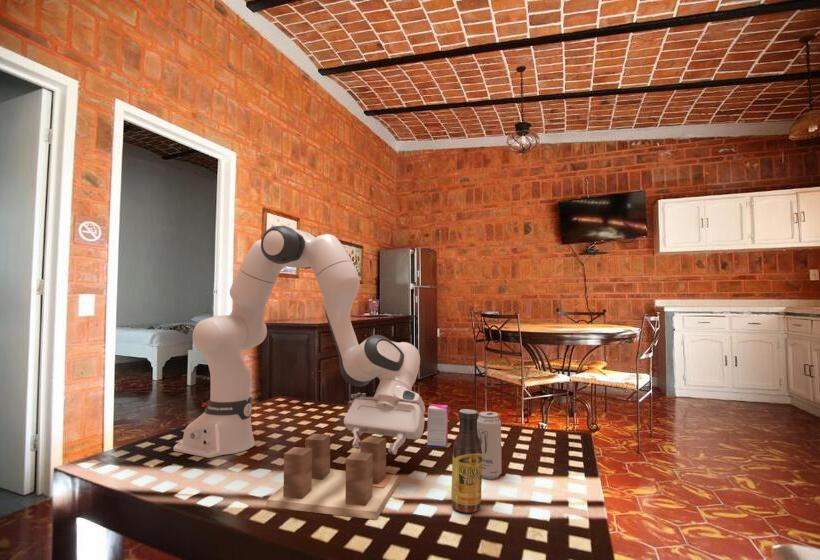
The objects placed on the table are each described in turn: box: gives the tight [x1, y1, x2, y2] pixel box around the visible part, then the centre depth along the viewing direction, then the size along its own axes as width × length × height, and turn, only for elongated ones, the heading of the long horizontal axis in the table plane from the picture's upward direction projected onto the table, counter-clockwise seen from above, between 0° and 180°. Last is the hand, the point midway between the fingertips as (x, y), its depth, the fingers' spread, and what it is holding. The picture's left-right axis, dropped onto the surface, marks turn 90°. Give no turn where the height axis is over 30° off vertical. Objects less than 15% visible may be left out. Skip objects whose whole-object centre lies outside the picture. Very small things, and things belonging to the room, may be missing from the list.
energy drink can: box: [477, 411, 503, 480], centre depth 106 cm, size 6×6×15 cm
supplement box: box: [426, 403, 449, 449], centre depth 128 cm, size 6×6×12 cm
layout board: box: [266, 433, 400, 520], centre depth 95 cm, size 24×18×10 cm
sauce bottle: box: [450, 408, 483, 514], centre depth 89 cm, size 7×6×20 cm
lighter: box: [348, 392, 367, 410], centre depth 154 cm, size 8×3×10 cm, turn 130°
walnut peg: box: [360, 435, 387, 484], centre depth 99 cm, size 4×4×9 cm
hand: (373, 450), depth 99 cm, fingers open, 8 cm apart
